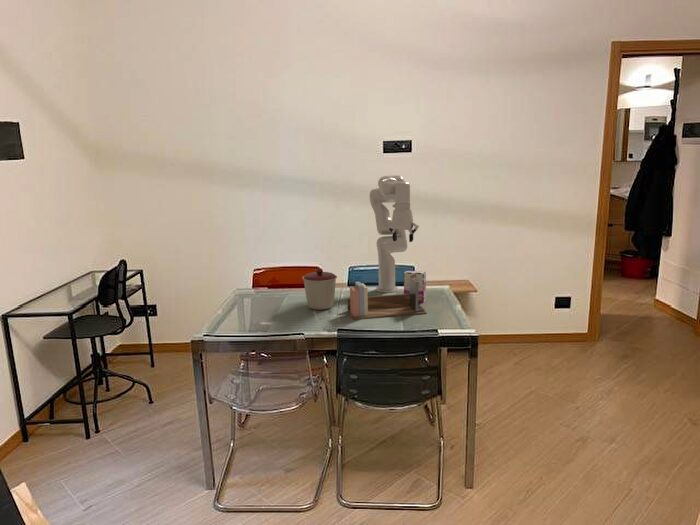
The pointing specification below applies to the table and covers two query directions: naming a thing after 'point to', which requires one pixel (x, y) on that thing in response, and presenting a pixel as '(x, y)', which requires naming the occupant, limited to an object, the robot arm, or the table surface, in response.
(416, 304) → the bookend
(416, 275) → the candy bar box
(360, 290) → the books
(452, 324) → the table surface
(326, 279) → the canister
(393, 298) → the shelf
